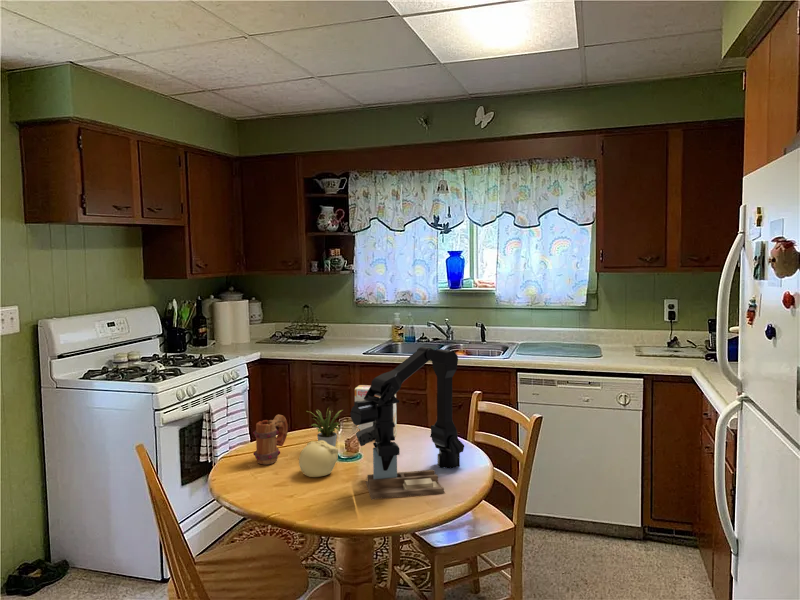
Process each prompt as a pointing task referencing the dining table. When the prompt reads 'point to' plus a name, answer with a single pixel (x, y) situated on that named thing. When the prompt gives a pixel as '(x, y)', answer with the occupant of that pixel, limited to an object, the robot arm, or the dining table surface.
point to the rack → (401, 485)
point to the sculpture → (318, 458)
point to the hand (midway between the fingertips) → (384, 469)
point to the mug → (270, 439)
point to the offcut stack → (419, 484)
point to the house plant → (327, 428)
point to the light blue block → (378, 467)
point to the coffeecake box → (359, 396)
